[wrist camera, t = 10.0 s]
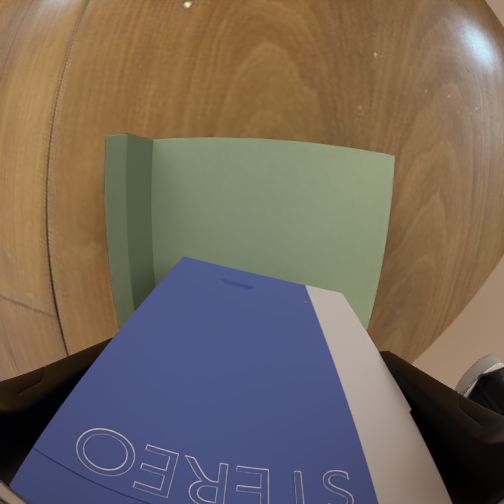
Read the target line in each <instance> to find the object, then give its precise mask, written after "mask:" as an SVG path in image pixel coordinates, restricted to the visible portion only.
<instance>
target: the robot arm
mask: <svg viewBox="0 0 504 504" xmlns="http://www.w3.org/2000/svg"><path fill="white" fill-rule="evenodd" d="M113 338H114V337H113ZM113 338H110V339H108V340H106V341H103V342H101V343H99V344H96V345H94V346H92V347H89V348H87V349H85V350H82V351H80V352H78V353H75V354H73V355H70V356H68V357H66V358H63V359H61V360H59V361H56V362H54V363H51V364H49V365H46V366H45V367H41V368H39V369H37V370H34V371H31V372H29V373H26V374H23V375H20V376H17V377H14V378H11V379H7V380H4V381H0V504H29V503H28V502H26V501H25V500H24V499H23V498H21V497H20V496H19V495H18V494H17V493H16V492H14V491H13V490H12V489H11V488H10V483H11V482H12V480H13V478H14V477H15V475H16V473H17V472H18V470H19V468H20V467H21V465H22V464H23V462H24V460H25V459H26V457H27V456H28V454H29V452H30V451H31V449H32V448H33V446H34V445H35V443H36V442H37V440H38V439H39V437H40V436H41V434H42V433H43V431H44V430H45V428H46V427H47V425H48V424H49V423H50V421H51V420H52V418H53V417H54V415H55V414H56V413H57V411H58V410H59V408H60V407H61V406H62V404H63V403H64V401H65V400H66V399H67V397H68V396H69V395H70V393H71V392H72V391H73V389H74V388H75V387H76V385H77V384H78V383H79V381H80V380H81V379H82V377H83V376H84V375H85V373H86V372H87V371H88V369H89V368H90V367H91V365H92V364H93V363H94V362H95V360H96V359H97V358H98V357H99V355H100V354H101V353H102V351H103V350H104V349H105V348H106V346H107V345H108V344H109V343H110V341H111V340H112V339H113ZM379 353H380V355H381V357H382V359H383V361H384V362H385V364H386V366H387V368H388V370H389V371H390V373H391V375H392V377H393V378H394V380H395V381H396V383H397V384H398V386H399V388H400V390H401V392H402V393H403V395H404V397H405V399H406V401H407V402H408V404H409V406H410V408H411V411H410V414H411V416H412V418H413V420H414V422H415V424H416V426H417V428H418V430H419V432H420V434H421V436H422V438H423V440H424V442H425V444H426V446H427V448H428V450H429V452H430V454H431V456H432V458H433V461H434V463H435V465H436V467H437V469H438V471H439V474H440V476H441V478H442V480H443V483H444V485H445V487H446V490H447V492H448V494H449V497H450V499H451V502H452V504H504V367H502V368H499V369H496V370H493V371H490V372H487V373H484V374H482V375H481V376H480V377H479V379H478V380H477V382H476V384H475V386H474V387H473V389H472V391H471V393H470V394H469V396H468V397H467V398H466V397H465V396H463V395H461V394H458V392H456V391H454V390H453V389H451V388H449V387H448V386H446V385H444V384H443V383H441V382H439V381H438V380H436V379H434V378H433V377H431V376H429V375H428V374H426V373H424V372H423V371H421V370H419V369H418V368H416V367H414V366H413V365H411V364H409V363H408V362H406V361H405V360H403V359H401V358H400V357H398V356H396V355H395V354H393V353H391V352H390V351H380V352H379Z"/></svg>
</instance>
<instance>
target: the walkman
mask: <svg viewBox="0 0 504 504" xmlns="http://www.w3.org/2000/svg"><path fill="white" fill-rule="evenodd" d="M410 411H411V408H410V406H409V404H408V402H407V401H406V399H405V397H404V395H403V393H402V392H401V390H400V388H399V386H398V384H397V383H396V381H395V380H394V378H393V377H392V375H391V373H390V371H389V370H388V368H387V366H386V364H385V362H384V361H383V359H382V357H381V355H380V353H379V352H378V350H377V348H376V347H375V345H374V343H373V342H372V340H371V338H370V337H369V335H368V333H367V332H366V330H365V329H364V327H363V325H362V324H361V322H360V321H359V319H358V317H357V316H356V314H355V313H354V311H353V309H352V308H351V306H350V305H349V303H348V302H347V300H346V299H345V297H344V295H343V294H342V293H339V292H335V291H330V290H326V289H321V288H317V287H312V286H308V285H302V284H298V283H293V282H289V281H285V280H280V279H276V278H272V277H267V276H263V275H259V274H255V273H250V272H246V271H242V270H238V269H233V268H229V267H225V266H221V265H217V264H213V263H209V262H205V261H201V260H197V259H193V258H189V257H185V256H183V257H182V258H181V259H180V260H179V262H178V263H177V264H176V265H175V266H174V267H173V268H172V269H171V271H170V272H169V273H168V274H167V275H166V276H165V277H164V278H163V280H162V281H161V282H160V283H159V284H158V285H157V286H156V288H155V289H154V290H153V291H152V292H151V293H150V295H149V296H148V297H147V298H146V299H145V300H144V302H143V303H142V304H141V305H140V306H139V307H138V309H137V310H136V311H135V312H134V313H133V315H132V316H131V317H130V318H129V319H128V321H127V322H126V323H125V324H124V325H123V327H122V328H121V329H120V330H119V332H118V333H117V334H116V335H115V336H114V338H113V339H112V340H111V341H110V343H109V344H108V345H107V346H106V348H105V349H104V350H103V351H102V353H101V354H100V355H99V357H98V358H97V359H96V360H95V362H94V363H93V364H92V365H91V367H90V368H89V369H88V371H87V372H86V373H85V375H84V376H83V377H82V379H81V380H80V381H79V383H78V384H77V385H76V387H75V388H74V389H73V391H72V392H71V393H70V395H69V396H68V397H67V399H66V400H65V401H64V403H63V404H62V406H61V407H60V408H59V410H58V411H57V413H56V414H55V415H54V417H53V418H52V420H51V421H50V423H49V424H48V425H47V427H46V428H45V430H44V431H43V433H42V434H41V436H40V437H39V439H38V440H37V442H36V443H35V445H34V446H33V448H32V449H31V451H30V452H29V454H28V456H27V457H26V459H25V460H24V462H23V464H22V465H21V467H20V468H19V470H18V472H17V473H16V475H15V477H14V478H13V480H12V482H11V483H10V488H11V489H12V490H13V491H14V492H16V493H17V494H18V495H19V496H20V497H21V498H23V499H24V500H25V501H26V502H28V503H29V504H452V502H451V499H450V497H449V494H448V492H447V490H446V487H445V485H444V483H443V480H442V478H441V476H440V474H439V471H438V469H437V467H436V465H435V463H434V461H433V458H432V456H431V454H430V452H429V450H428V448H427V446H426V444H425V442H424V440H423V438H422V436H421V434H420V432H419V430H418V428H417V426H416V424H415V422H414V420H413V418H412V416H411V414H410Z"/></svg>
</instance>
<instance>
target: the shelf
mask: <svg viewBox="0 0 504 504" xmlns="http://www.w3.org/2000/svg"><path fill="white" fill-rule="evenodd" d="M394 162H395V156H393V155H388V154H383V153H378V152H372V151H366V150H360V149H354V148H348V147H341V146H333V145H326V144H317V143H308V142H298V141H286V140H272V139H253V138H174V139H156V140H152V139H148V138H144V137H140V136H136V135H132V134H128V133H125V134H117V135H109V136H106V141H105V165H104V200H105V224H106V239H107V251H108V260H109V269H110V277H111V285H112V291H113V298H114V304H115V310H116V315H117V321H118V326H119V330H120V329H121V328H122V327H123V325H124V324H125V323H126V322H127V321H128V319H129V318H130V317H131V316H132V315H133V313H134V312H135V311H136V310H137V309H138V307H139V306H140V305H141V304H142V303H143V302H144V300H145V299H146V298H147V297H148V296H149V295H150V293H151V292H152V291H153V290H154V289H155V288H156V286H157V285H158V284H159V283H160V282H161V281H162V280H163V278H164V277H165V276H166V275H167V274H168V273H169V272H170V271H171V269H172V268H173V267H174V266H175V265H176V264H177V263H178V262H179V260H180V259H181V258H182V257H183V256H185V257H189V258H193V259H197V260H201V261H205V262H209V263H213V264H217V265H221V266H225V267H229V268H233V269H238V270H242V271H246V272H250V273H255V274H259V275H263V276H267V277H272V278H276V279H280V280H285V281H289V282H293V283H298V284H302V285H308V286H312V287H317V288H321V289H326V290H330V291H335V292H339V293H342V294H343V295H344V297H345V299H346V300H347V302H348V303H349V305H350V306H351V308H352V309H353V311H354V313H355V314H356V316H357V317H358V319H359V321H360V322H361V324H362V325H363V327H364V329H365V330H366V332H367V328H368V324H369V320H370V317H371V313H372V309H373V304H374V300H375V296H376V292H377V287H378V282H379V278H380V273H381V267H382V262H383V257H384V251H385V245H386V238H387V232H388V225H389V217H390V209H391V200H392V189H393V177H394Z"/></svg>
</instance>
